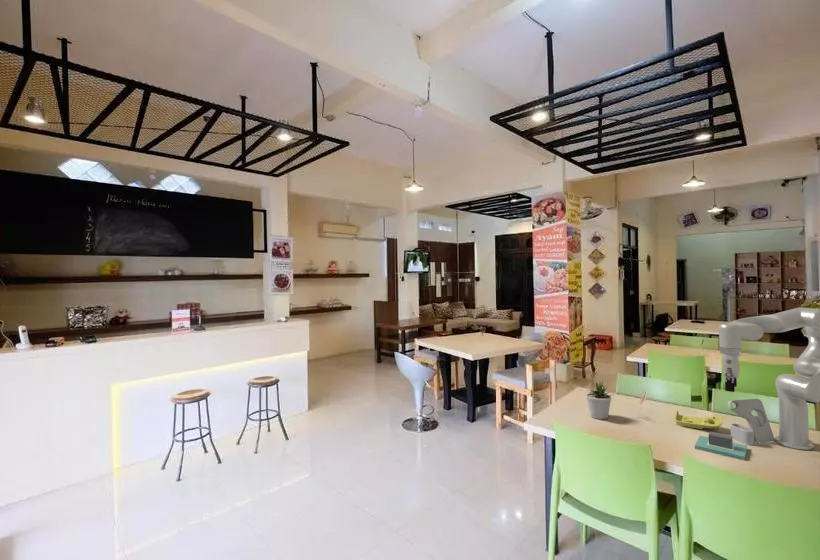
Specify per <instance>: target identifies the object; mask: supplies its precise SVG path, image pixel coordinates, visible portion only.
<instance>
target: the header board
mask: <svg viewBox="0 0 820 560" xmlns="http://www.w3.org/2000/svg"><path fill="white" fill-rule="evenodd" d="M695 442H696V443H694V449H695V450H700V451H702V452H703V451H704V452H708V453H711V454H716V455H720V456H724V457H728V458H729V457H730V458H733V459H737V460H740V461H741V460H743V461H745V459H746V456H747V452H748V445H746V444H743V443H742V444H741V443H736V442H733V447H732V449H727V448H723V447H718V446H714V445H709V436H704V435H699V436H698V439H697V440H696V441H695Z"/></svg>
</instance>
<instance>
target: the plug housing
mask: <svg viewBox="0 0 820 560" xmlns="http://www.w3.org/2000/svg"><path fill="white" fill-rule="evenodd" d="M730 435H731V434H730ZM730 435H728V434H724V433H719V432H715V431H709V432H708V437H709V445H714V446H718V447H723V448H727V449H732V447H733V443H734V441H733V440H734V439H733V438H732V436H730Z"/></svg>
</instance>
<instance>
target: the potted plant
mask: <svg viewBox="0 0 820 560" xmlns="http://www.w3.org/2000/svg"><path fill="white" fill-rule="evenodd" d="M603 382H604V380H603V379H602V382H601V381H599V382H597V380H596V379H595V380H594V382H593V386H594V387H595V390H593V389H591V388H589V389H587V391H589V392H587V394H585V396H586V400H587V406H588V410H589V415H590V416H592V417H591V418H593V419H597V420H606V419H608V417H609V414H610V409H611V408H610V406H611V401H612V396H613V395H614V394H609V392H610V391H608V392H606V391H607V389H608V384H606V385H605V386H604V383H603Z"/></svg>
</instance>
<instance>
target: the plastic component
mask: <svg viewBox="0 0 820 560" xmlns="http://www.w3.org/2000/svg"><path fill="white" fill-rule="evenodd" d="M723 421H724V415H720V416H719V417H716V416H706V417H697V416H690V415H689V416H688V415H683V414H682V415H681V414H680V413H679V410H675V414H674V422H675V425H677V426H679V427H683V426H684V427H685V428H691V429H698V430H703V429H704V428H706V429H709V428H710V430H711V429H713V430H712V431H716V430H717V431H718V428H719V427H721V426H722V425H723V423H724V422H723ZM684 427H683V428H684Z"/></svg>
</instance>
